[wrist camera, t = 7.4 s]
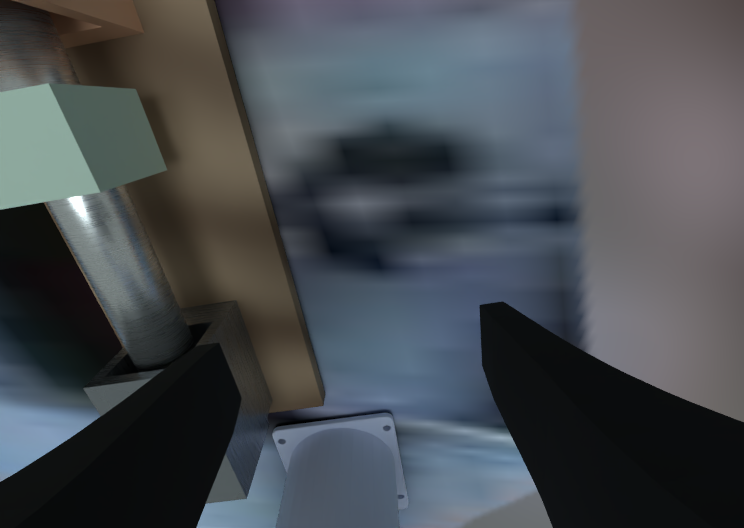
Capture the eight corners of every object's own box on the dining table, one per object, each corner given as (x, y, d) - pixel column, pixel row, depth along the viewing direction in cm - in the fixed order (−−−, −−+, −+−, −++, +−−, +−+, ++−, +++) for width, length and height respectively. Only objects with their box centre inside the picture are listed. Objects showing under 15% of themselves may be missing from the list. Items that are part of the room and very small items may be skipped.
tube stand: (325, 393, 23) (309, 502, 17) (174, 413, 23) (104, 526, 17) (179, -123, 13) (3, -335, 7) (-78, -67, 13) (-466, -215, 7)
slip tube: (230, 332, 18) (195, 391, 14) (153, 343, 18) (99, 404, 14) (68, -86, 11) (-75, -177, 8) (-50, -61, 11) (-244, -137, 8)
